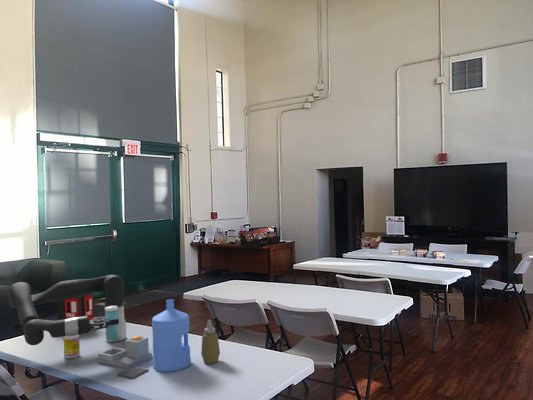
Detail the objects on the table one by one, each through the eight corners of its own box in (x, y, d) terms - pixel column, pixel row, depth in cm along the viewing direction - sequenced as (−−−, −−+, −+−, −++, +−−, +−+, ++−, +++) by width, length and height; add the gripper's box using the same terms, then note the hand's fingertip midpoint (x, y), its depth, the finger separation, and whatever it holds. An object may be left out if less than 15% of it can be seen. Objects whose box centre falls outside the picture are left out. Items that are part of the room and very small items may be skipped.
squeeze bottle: (223, 359, 191) (221, 318, 191) (215, 366, 183) (213, 323, 183) (206, 357, 193) (205, 317, 193) (198, 364, 186) (196, 322, 186)
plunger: (137, 346, 197) (136, 335, 197) (142, 347, 196) (142, 336, 196) (131, 349, 194) (130, 337, 194) (137, 350, 192) (136, 338, 192)
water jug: (158, 375, 175) (155, 306, 175) (149, 363, 189) (147, 299, 189) (195, 367, 182) (193, 300, 182) (184, 356, 196) (182, 294, 196)
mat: (132, 367, 185) (132, 366, 185) (148, 370, 180) (148, 369, 180) (116, 375, 177) (116, 374, 177) (132, 379, 173) (132, 377, 173)
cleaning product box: (94, 327, 249) (93, 292, 249) (85, 332, 240) (84, 296, 240) (68, 327, 252) (66, 292, 252) (58, 331, 243) (57, 296, 243)
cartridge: (113, 336, 198) (111, 305, 198) (121, 337, 195) (120, 306, 195) (103, 340, 193) (102, 308, 193) (112, 341, 190) (110, 309, 190)
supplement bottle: (73, 359, 198) (72, 331, 198) (61, 358, 199) (60, 330, 199) (82, 354, 204) (81, 326, 204) (70, 353, 206) (69, 326, 206)
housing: (121, 352, 205) (120, 333, 205) (152, 357, 196) (151, 337, 196) (97, 362, 192) (96, 342, 193) (129, 368, 184) (128, 347, 184)
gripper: (77, 330, 195) (117, 324, 201) (77, 339, 182) (119, 332, 188) (76, 313, 195) (116, 308, 202) (76, 321, 182) (119, 315, 188)
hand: (118, 320), depth 195 cm, fingers closed on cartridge, 4 cm apart
